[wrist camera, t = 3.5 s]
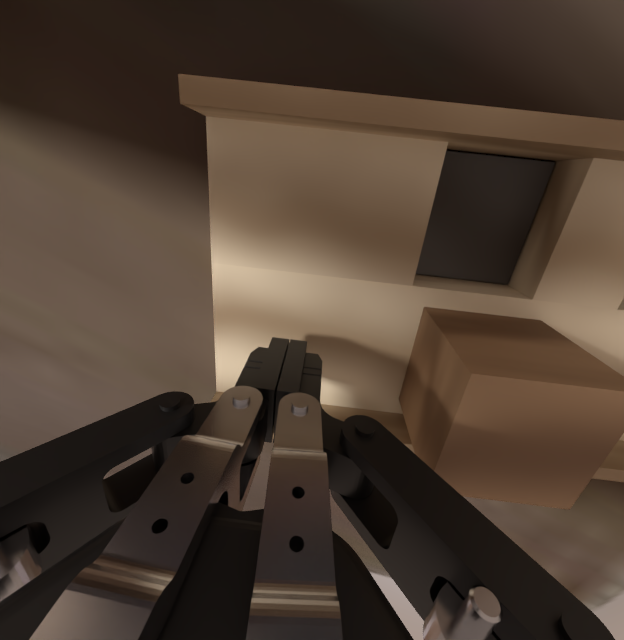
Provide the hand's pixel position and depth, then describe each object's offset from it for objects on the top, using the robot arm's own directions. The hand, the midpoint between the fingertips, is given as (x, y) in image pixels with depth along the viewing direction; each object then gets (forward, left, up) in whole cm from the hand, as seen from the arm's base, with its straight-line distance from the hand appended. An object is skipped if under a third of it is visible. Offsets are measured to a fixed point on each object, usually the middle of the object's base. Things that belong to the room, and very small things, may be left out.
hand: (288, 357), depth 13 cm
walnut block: (0, +8, -1) cm, 8 cm away
